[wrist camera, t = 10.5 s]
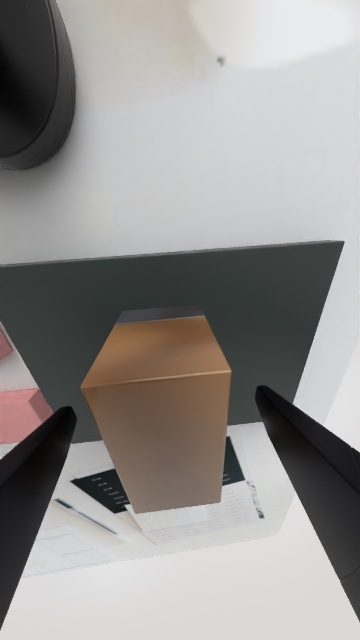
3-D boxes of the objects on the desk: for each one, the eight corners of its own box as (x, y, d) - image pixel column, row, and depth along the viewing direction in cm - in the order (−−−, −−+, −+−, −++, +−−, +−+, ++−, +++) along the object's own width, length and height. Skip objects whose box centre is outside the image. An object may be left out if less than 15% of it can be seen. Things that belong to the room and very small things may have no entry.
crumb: (39, 386, 12) (27, 401, 11) (61, 423, 14) (52, 438, 13) (-20, 392, 12) (-38, 408, 11) (9, 428, 14) (-4, 445, 13)
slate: (327, 240, 9) (345, 241, 8) (280, 408, 15) (288, 419, 14) (-10, 265, 8) (-31, 269, 8) (77, 430, 14) (71, 444, 13)
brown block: (199, 303, 9) (233, 370, 5) (201, 407, 13) (221, 503, 8) (122, 310, 9) (77, 386, 4) (145, 413, 12) (134, 514, 8)
